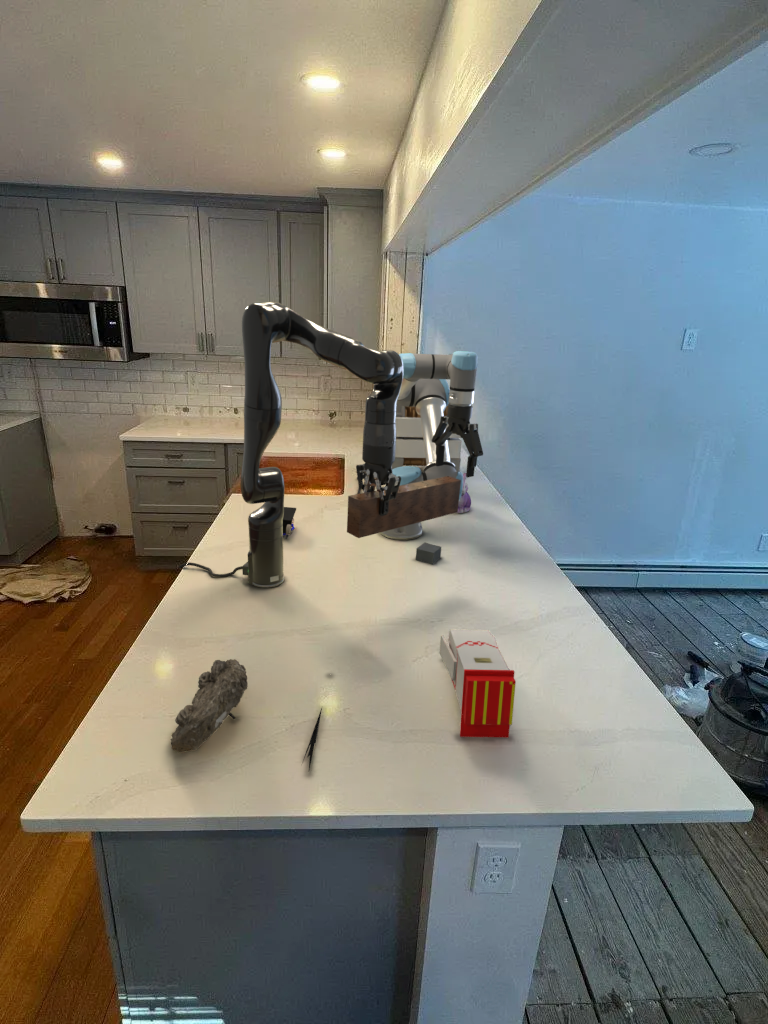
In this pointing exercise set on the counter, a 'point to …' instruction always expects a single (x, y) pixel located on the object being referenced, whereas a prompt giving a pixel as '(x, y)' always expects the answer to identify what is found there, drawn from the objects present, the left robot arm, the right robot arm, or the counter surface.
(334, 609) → the counter surface
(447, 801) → the counter surface
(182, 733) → the fossil
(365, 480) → the left robot arm
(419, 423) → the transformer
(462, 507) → the figurine
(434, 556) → the grey block
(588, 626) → the counter surface
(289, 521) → the figurine character
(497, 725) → the toy
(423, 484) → the walnut bar
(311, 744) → the feather
